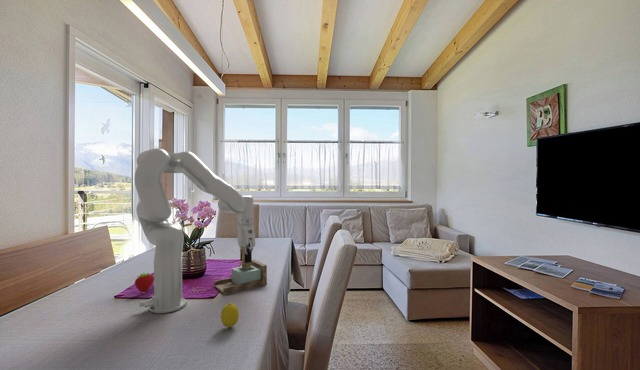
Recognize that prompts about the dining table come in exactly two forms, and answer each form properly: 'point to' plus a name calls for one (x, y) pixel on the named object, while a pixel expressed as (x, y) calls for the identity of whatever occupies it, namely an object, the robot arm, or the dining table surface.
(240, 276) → the socket block
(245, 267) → the oak dowel
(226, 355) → the dining table surface
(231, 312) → the lemon
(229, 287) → the track board
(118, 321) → the dining table surface
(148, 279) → the strawberry
